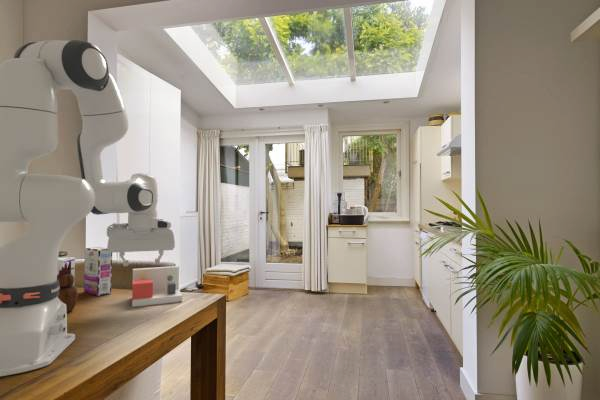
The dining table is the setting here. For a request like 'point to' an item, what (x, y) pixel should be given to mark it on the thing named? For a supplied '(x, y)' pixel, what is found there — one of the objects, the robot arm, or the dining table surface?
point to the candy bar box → (97, 271)
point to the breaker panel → (158, 298)
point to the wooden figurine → (67, 288)
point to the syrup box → (66, 260)
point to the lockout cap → (142, 289)
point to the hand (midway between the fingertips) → (141, 265)
